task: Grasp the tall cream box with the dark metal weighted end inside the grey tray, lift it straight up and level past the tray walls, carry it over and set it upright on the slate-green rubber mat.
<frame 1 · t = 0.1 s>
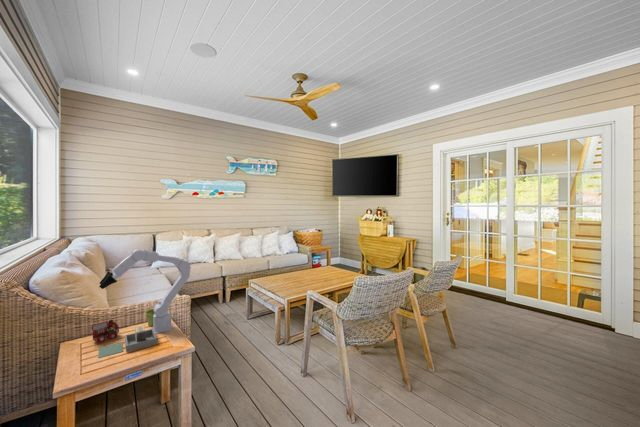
hand: (100, 286, 149), 32 cm above the table, tool tilted 50°, fingers open, 7 cm apart
grey tray: (140, 343, 151), on the table
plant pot: (153, 324, 175), on the table
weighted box: (140, 342, 151), resting on grey tray
mat: (110, 350, 143), on the table
toy fire truck: (106, 339, 156), on the table
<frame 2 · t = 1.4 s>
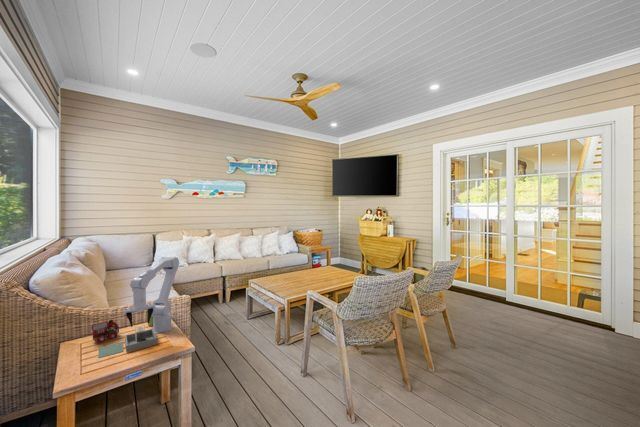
hand: (140, 324, 151), 10 cm above the table, tool pointing down, fingers open, 7 cm apart
nothing on the table moved.
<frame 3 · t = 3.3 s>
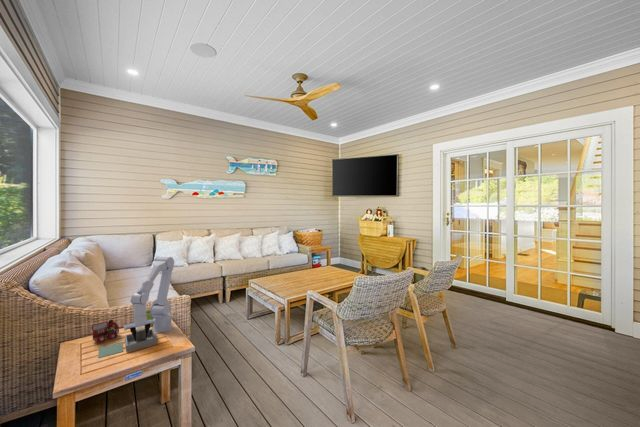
hand: (140, 339, 151), 2 cm above the table, tool pointing down, fingers closed on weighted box, 4 cm apart
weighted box: (140, 342, 151), resting on grey tray, touching gripper
everything else where it was.
when the fingers open (3 cm above the table, at t = 7.6 s): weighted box stays where it is, resting on mat.
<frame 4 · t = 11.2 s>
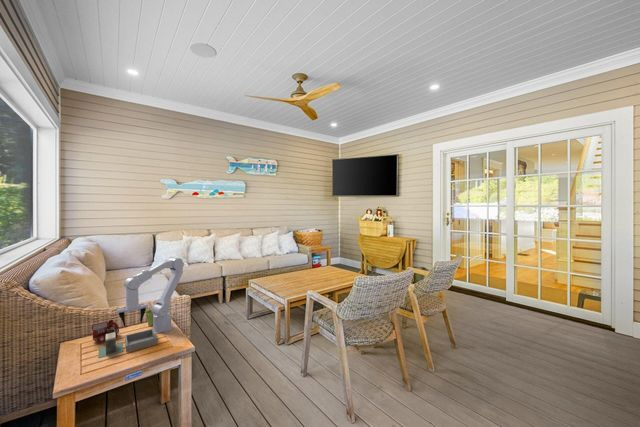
hand: (132, 323, 154), 9 cm above the table, tool pointing down, fingers open, 7 cm apart
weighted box: (110, 349, 143), point 1 cm above the table, touching mat
everything else where it was.
at the end: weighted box inside the target area on the mat (0.2 cm from its centre), point 0.6 cm above the mat's base; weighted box tilted 0°; the gripper is holding nothing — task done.
